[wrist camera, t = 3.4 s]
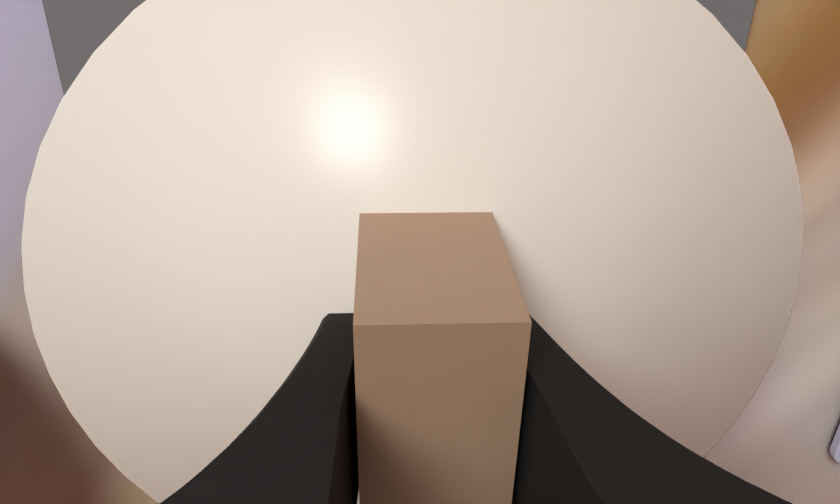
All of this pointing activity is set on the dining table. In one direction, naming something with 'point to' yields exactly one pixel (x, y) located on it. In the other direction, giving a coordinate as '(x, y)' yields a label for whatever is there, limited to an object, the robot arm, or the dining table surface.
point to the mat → (111, 3)
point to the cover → (408, 225)
